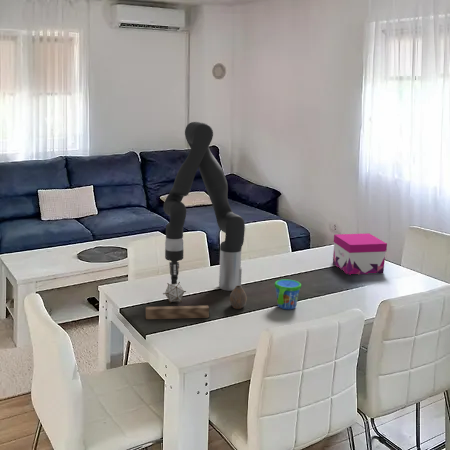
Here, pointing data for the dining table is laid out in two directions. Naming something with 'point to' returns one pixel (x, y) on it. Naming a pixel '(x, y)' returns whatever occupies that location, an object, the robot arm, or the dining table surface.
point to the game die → (174, 292)
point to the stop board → (177, 312)
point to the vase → (238, 298)
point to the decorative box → (359, 253)
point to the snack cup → (287, 293)
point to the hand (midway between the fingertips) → (174, 287)
